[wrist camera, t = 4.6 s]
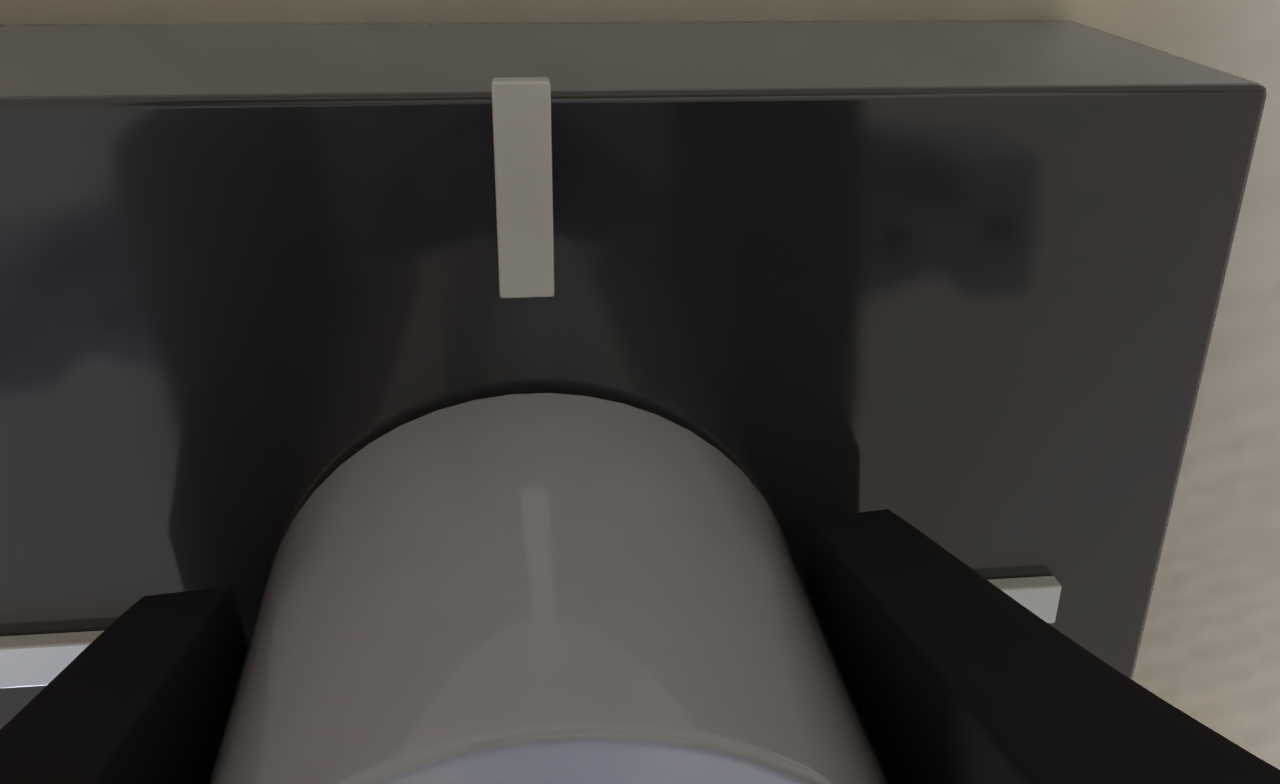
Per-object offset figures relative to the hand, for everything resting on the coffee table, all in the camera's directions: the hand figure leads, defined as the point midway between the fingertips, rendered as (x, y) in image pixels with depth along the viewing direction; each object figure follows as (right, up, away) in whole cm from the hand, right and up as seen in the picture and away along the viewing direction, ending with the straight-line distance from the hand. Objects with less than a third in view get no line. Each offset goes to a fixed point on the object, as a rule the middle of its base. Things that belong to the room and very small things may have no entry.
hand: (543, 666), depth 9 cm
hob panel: (0, +2, +3) cm, 3 cm away
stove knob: (0, 0, 0) cm, 0 cm away
